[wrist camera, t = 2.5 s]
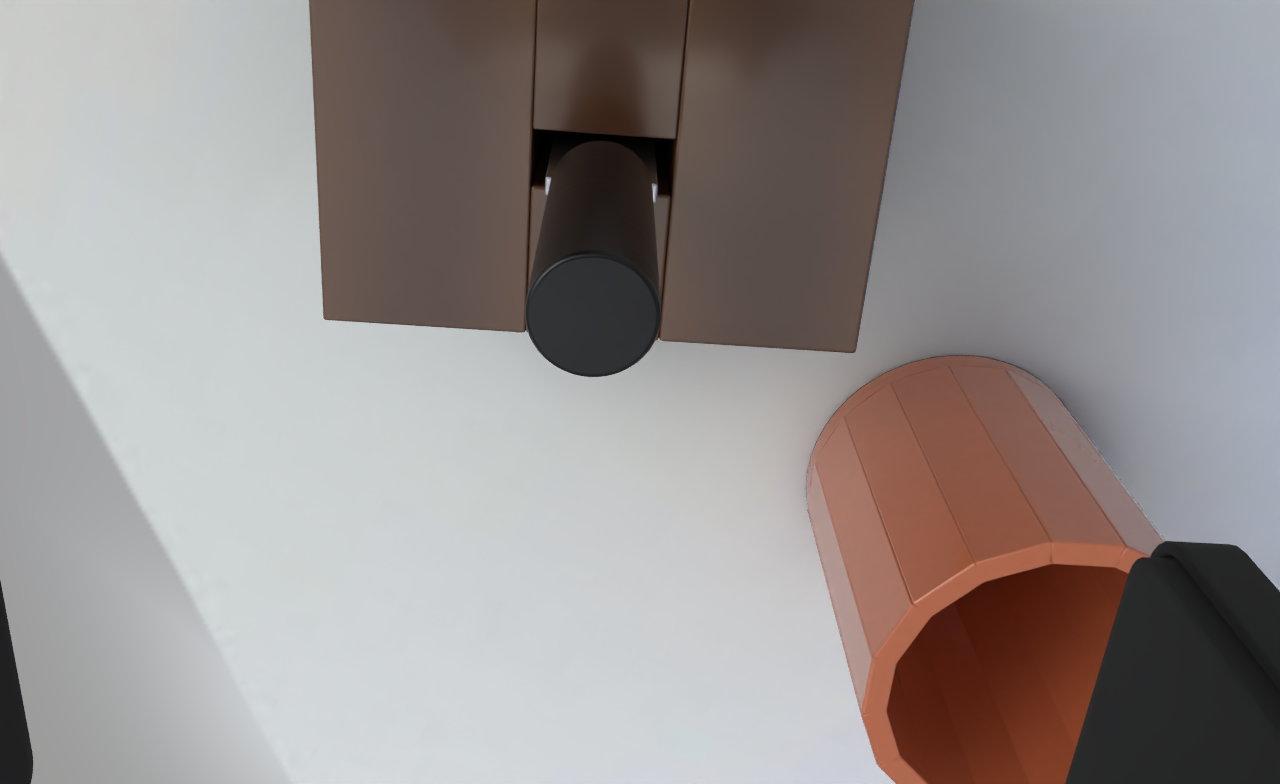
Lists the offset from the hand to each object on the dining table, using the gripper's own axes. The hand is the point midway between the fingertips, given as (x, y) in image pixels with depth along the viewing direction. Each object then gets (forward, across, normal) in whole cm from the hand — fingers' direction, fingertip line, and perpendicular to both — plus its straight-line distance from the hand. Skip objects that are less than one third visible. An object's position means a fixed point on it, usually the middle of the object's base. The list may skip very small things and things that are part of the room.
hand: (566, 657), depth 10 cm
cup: (+24, -11, +11) cm, 28 cm away
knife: (+24, 0, 0) cm, 24 cm away
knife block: (+24, 0, 0) cm, 24 cm away
